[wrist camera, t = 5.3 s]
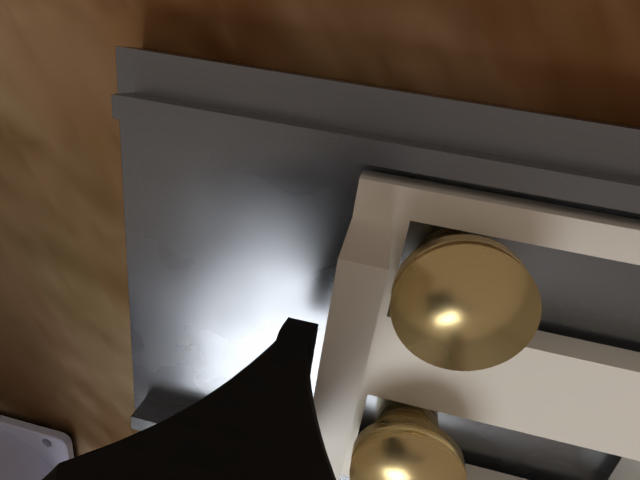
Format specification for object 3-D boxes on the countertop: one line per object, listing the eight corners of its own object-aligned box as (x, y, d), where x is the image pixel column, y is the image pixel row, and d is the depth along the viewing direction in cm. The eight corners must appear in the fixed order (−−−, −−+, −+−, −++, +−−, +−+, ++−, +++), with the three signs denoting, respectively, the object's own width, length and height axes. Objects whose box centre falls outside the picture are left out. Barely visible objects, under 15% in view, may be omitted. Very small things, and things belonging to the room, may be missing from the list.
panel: (312, 441, 15) (288, 542, 12) (362, 169, 11) (345, 211, 8) (606, 517, 14) (667, 653, 11) (783, 246, 10) (968, 332, 7)
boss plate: (152, 403, 18) (90, 486, 14) (141, 48, 12) (34, 39, 9) (591, 519, 16) (645, 649, 12) (820, 155, 10) (1043, 203, 7)
